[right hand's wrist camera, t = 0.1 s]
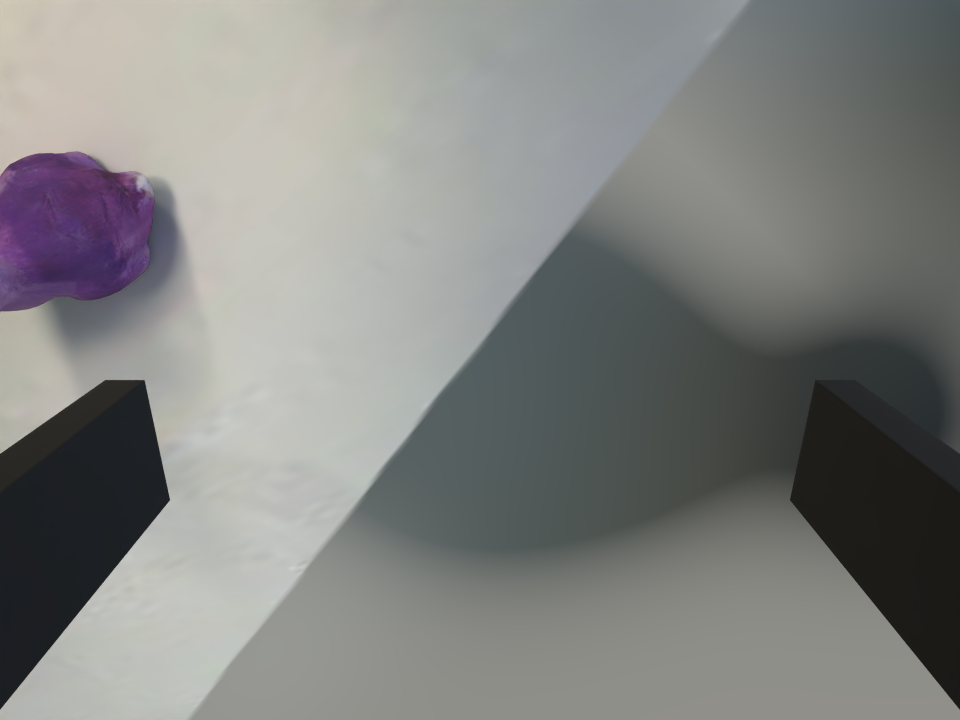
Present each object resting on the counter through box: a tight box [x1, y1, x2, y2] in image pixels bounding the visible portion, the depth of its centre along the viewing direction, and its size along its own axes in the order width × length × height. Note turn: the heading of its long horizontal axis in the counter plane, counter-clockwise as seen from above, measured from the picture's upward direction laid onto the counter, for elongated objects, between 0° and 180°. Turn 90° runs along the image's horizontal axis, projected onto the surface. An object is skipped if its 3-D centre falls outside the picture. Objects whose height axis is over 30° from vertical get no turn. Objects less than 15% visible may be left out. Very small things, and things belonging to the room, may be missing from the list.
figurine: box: [0, 152, 154, 311], centre depth 32 cm, size 9×10×15 cm
